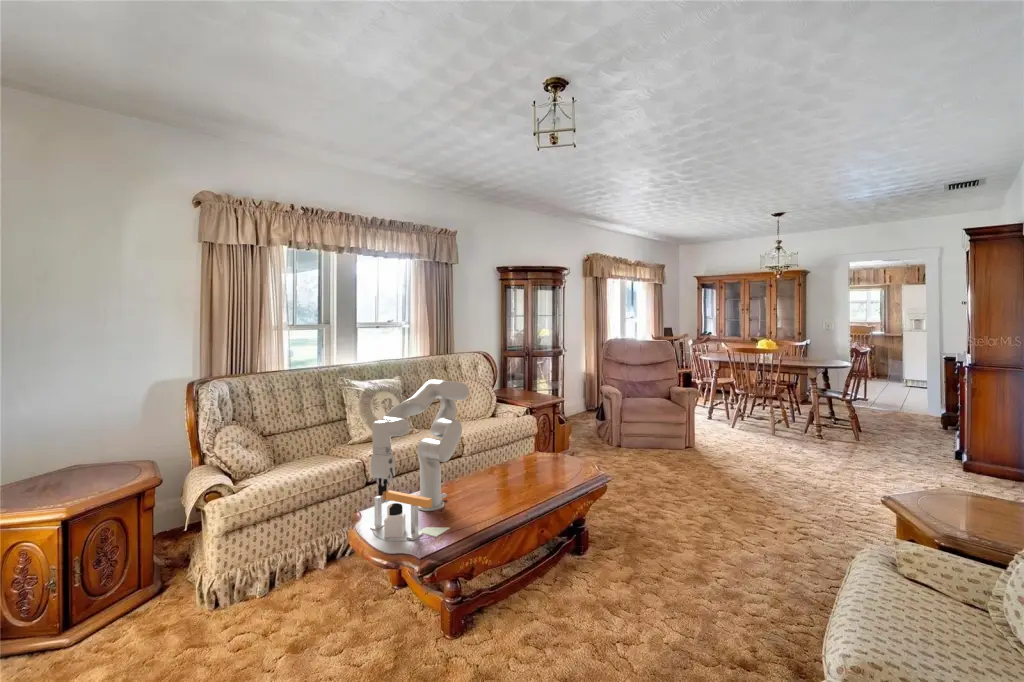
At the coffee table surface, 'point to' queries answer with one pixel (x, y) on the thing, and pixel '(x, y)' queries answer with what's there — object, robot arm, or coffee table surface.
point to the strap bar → (407, 498)
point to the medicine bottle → (394, 521)
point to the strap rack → (379, 524)
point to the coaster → (433, 531)
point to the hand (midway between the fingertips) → (382, 494)
